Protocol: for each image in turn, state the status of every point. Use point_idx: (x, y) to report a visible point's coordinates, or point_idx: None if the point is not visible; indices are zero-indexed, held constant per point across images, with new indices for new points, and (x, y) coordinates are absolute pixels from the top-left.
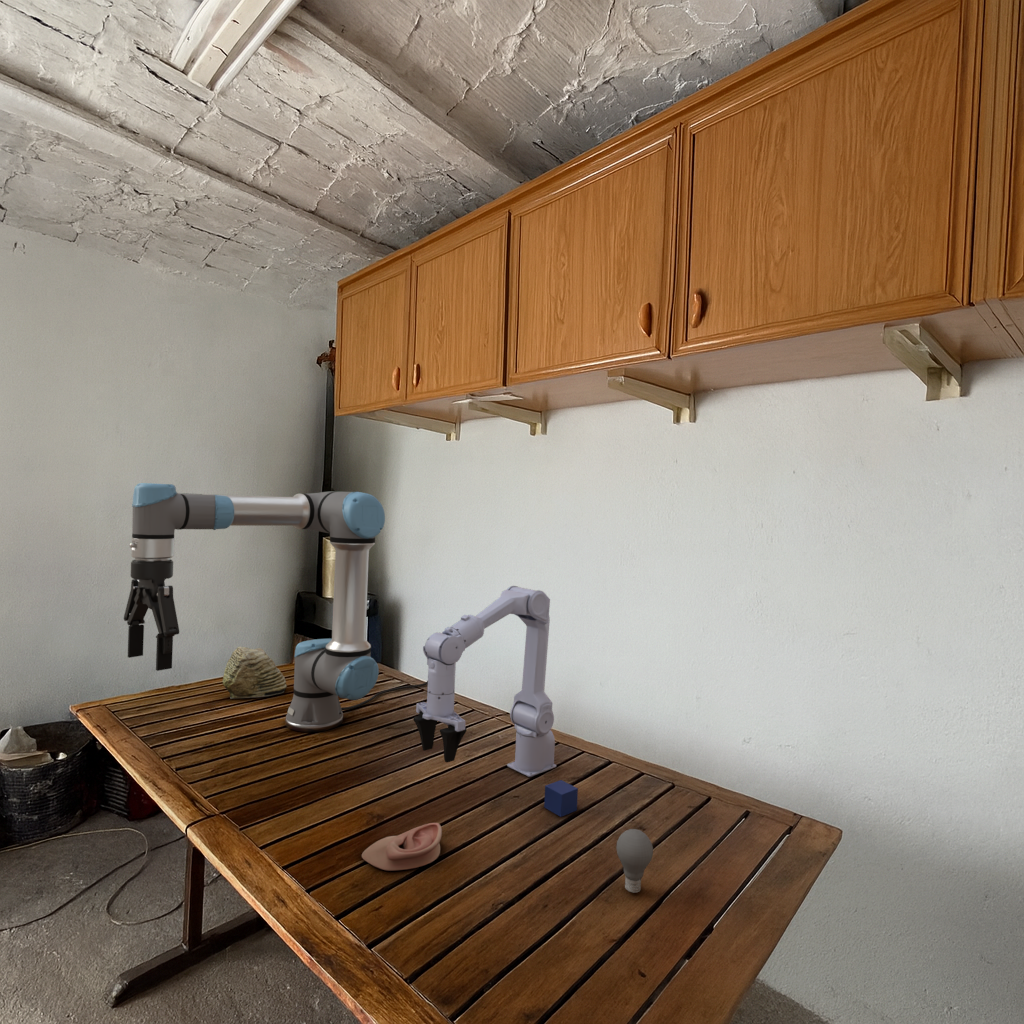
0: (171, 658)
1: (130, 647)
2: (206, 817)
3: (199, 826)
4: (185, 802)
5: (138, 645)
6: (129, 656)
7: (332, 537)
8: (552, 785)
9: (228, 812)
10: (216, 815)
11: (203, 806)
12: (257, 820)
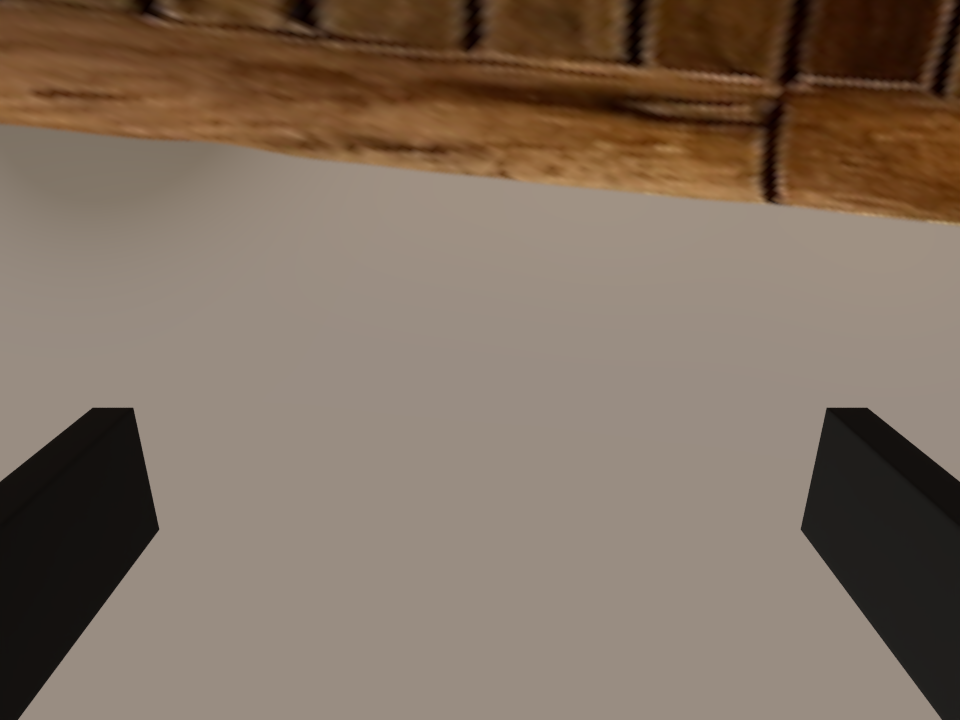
0: (931, 469)
1: (103, 596)
2: (770, 134)
3: (804, 179)
4: (613, 134)
5: (77, 526)
6: (151, 533)
7: None
8: None
9: (803, 60)
10: (787, 102)
11: (691, 102)
12: (942, 14)
